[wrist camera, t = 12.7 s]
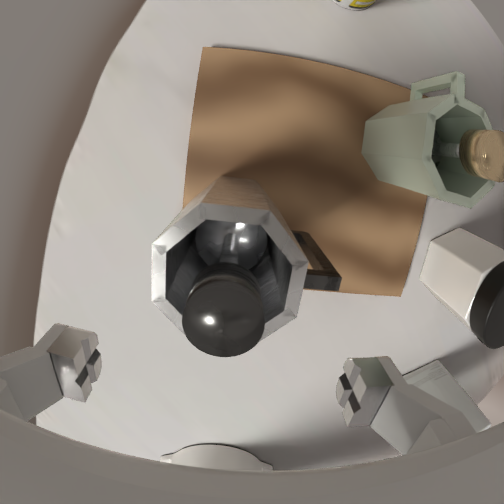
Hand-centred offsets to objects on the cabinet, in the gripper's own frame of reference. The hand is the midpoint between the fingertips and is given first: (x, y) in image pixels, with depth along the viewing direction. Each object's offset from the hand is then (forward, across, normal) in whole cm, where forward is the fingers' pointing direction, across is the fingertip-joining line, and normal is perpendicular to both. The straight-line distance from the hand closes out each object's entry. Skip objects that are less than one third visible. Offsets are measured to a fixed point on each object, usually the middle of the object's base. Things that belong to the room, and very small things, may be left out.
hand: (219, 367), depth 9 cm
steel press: (+18, +1, +1) cm, 19 cm away
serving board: (+20, +7, +5) cm, 22 cm away
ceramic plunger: (+15, +14, +10) cm, 23 cm away
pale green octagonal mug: (+18, +14, +11) cm, 25 cm away
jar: (+20, +25, -1) cm, 32 cm away
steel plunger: (+13, 0, +1) cm, 13 cm away
